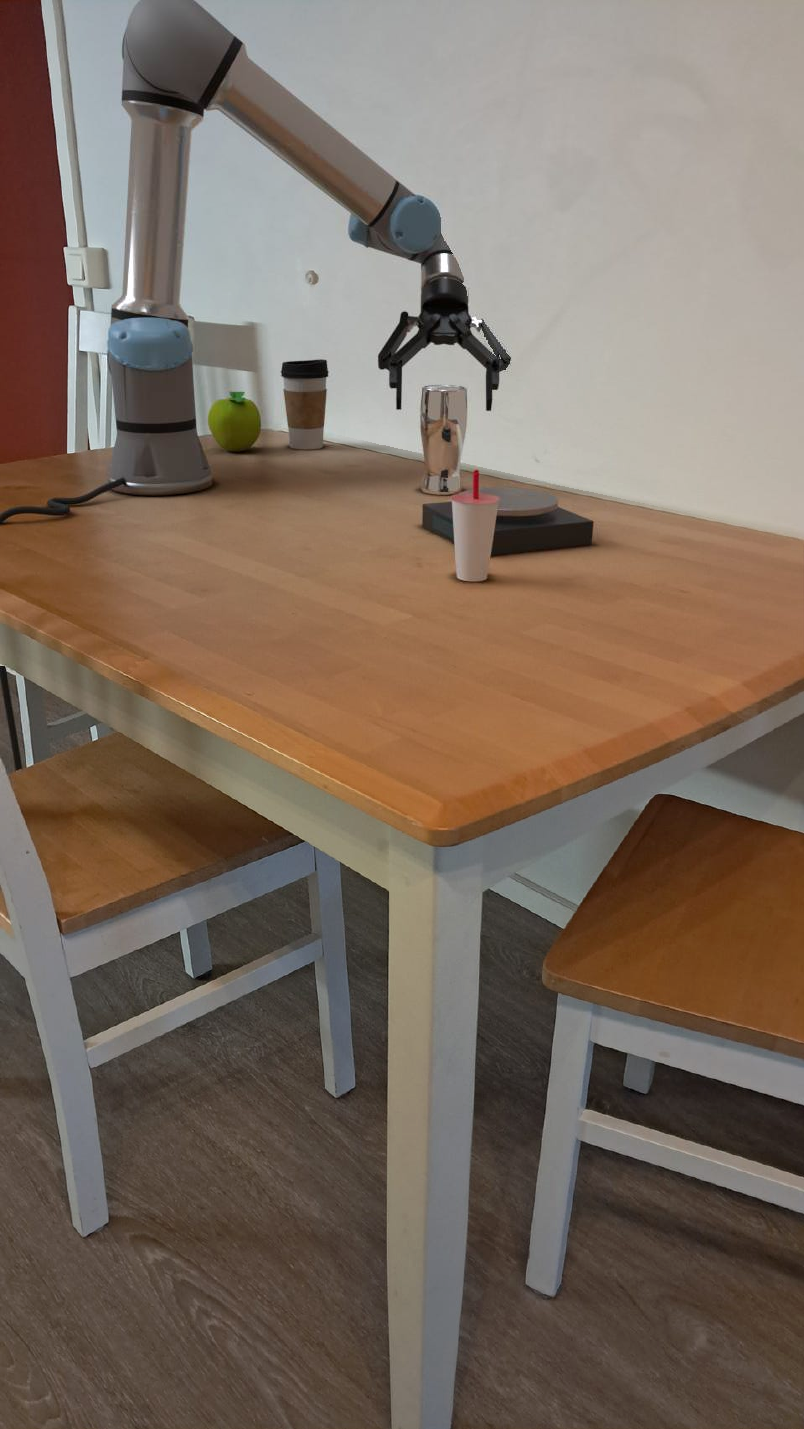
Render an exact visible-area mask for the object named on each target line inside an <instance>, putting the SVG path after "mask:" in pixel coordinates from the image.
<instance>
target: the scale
mask: <svg viewBox="0 0 804 1429" xmlns="http://www.w3.org/2000/svg"><path fill="white" fill-rule="evenodd" d="M421 516H422V517H421V518H422V519H421V527H422V528H424V529H426V530H427V531H430V532H432V533H433V534H435V535H438V536H439V537H441V538H443V539H444V540H446V541H448V542H450V543H452V544H454V528H453V511H452V501H440V502H431V503H423V504H422V514H421ZM594 523H595V521H594V520H592V519H589V518H587V517H584V516H582V515H579V514H577V513H575V512H572V511H570V510H567V509H565V508H562V507H559V506H558V508H557V509H556V510H554V511H552V512H549V513H545V514H540V515H533V516H496V522H495V529H494V536H493V543H492V549H491V556H501V555H509V554H517V553H518V554H519V553H528V552H539V551H546V550H555V549H564V548H565V549H566V548H574V547H583V546H591V545H593V535H594ZM491 556H490V557H491Z"/></svg>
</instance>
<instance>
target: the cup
mask: <svg viewBox="0 0 804 1429" xmlns="http://www.w3.org/2000/svg"><path fill="white" fill-rule="evenodd" d="M479 488H480V470H479V469H474V470H473V472H472V489H473V493H462V494H458V493H457V494H452V495H451V496H450V500H451V502H452V511H453V528H454V543H453V544H454V558H455V559H454V560H455V571H456V572H455V574H456V578H457V579H458V580H461V581H463V582H464V581H465V582H474V583H475V582H482V581H485V580H487V579H488V574H489V568H490V563H491V549H492V543H493V536H494V529H495V522H496V515H497V509H498V502H499V500H500V498H499V497H497V496H494V495H490V494H483V493H479Z"/></svg>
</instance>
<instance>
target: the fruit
mask: <svg viewBox="0 0 804 1429" xmlns="http://www.w3.org/2000/svg"><path fill="white" fill-rule="evenodd" d="M245 393H246V391H229V396H230V397H227V398H220V399H217V400H215V402H213V403H212V405H211V407H210V409H209V411H208V414H207V425H208V429H209V431H210V434H211V435H212V437H213V439H214V441H215V442H216V443H217V444H218V446H219V447H220V448H221V449H223V450H225V451H229V452H233V453H235V452H236V453H239V452H244V451H248V450H249V449H251V447H253V445H254V444H255V443H257V440H258V439H259V437H260V435H261V431H262V419H261V418H262V417H261V414H260V410H259V408H258V406H257V405H256V403H255V402H254V401H253V400H251V399H248V398H246V397H243V396H245Z"/></svg>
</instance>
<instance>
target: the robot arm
mask: <svg viewBox="0 0 804 1429" xmlns="http://www.w3.org/2000/svg"><path fill="white" fill-rule="evenodd" d="M121 57H122V80H121V82H122V84H121V87H122V88H121V107H123V109H124V110H125V112H126V114H128V116H129V118H130V120H131V122H130V123H131V125H130V139H129V140H130V142H129V143H130V144H129V159H128V160H129V161H128V162H129V163H128V179H127V180H128V183H127V198H126V199H127V200H126V201H127V202H126V219H125V235H124V236H125V238H124V257H123V273H122V274H123V276H122V293H121V296H120V298H118V299H116V301H115V302H114V303H113V304H111V308H110V326H109V328H108V331H107V332H108V333H107V341H106V345H107V346H106V347H107V352H106V364H107V368H108V372H109V374H110V376H111V384H112V396H113V397H112V398H113V406H114V417H115V418H114V419H115V427H116V429H115V430H116V437H115V442H114V446H113V449H112V450H113V451H112V455H111V460H110V465H109V469H108V475H107V476H108V478H107V479H108V483H105V484H103V485H101V486H99V487H97V488H95V489H93V490H92V491H90V492H88V493H86V494H83V495H80V496H76V497H75V496H74V497H51V498H50V499H47V501H46V505H47V506H48V507H44V506H43V507H42V506H33V505H32V506H30V505H25V506H24V505H23V506H15V507H11V508H8V509H6V510H3V512H1V513H0V525H2V524H3V523H4V521H6V520H7V519H9V518H10V517H13V516H16V515H22V514H32V515H43V516H56V517H57V516H58V517H59V516H65V515H68V514H69V513H70V512H71V508H70V505H79V504H83V503H87V502H90V500H91V501H92V500H93V499H95V498H97V497H98V496H100V495H102V494H104V493H106V492H108V491H111V490H112V491H115V492H118V493H122V494H128V495H135V496H136V495H137V496H171V495H172V496H173V495H181V494H183V495H184V494H190V493H194V492H195V493H196V492H199V491H202V490H206V489H208V488H209V487H211V486H212V485H213V473H212V469H211V466H210V464H209V461H208V458H207V455H206V453H205V450H204V448H203V446H202V443H201V440H200V437H199V434H198V428H197V413H196V399H195V398H196V397H195V384H194V382H195V381H194V366H193V353H194V344H193V341H192V338H191V332H190V329H189V315H188V314H187V313H186V312H185V310H184V309H183V307H182V306H181V288H182V277H183V276H182V274H183V263H184V262H183V261H184V246H185V233H186V232H185V231H186V220H187V218H186V217H187V203H188V188H189V178H190V177H189V175H190V163H191V162H190V161H191V148H192V135H193V134H192V133H193V131H194V129H195V128H197V127H198V126H199V125H200V124H201V123H203V121H204V116H205V111H206V112H210V111H219V112H220V113H221V114H223V115H224V116H225V117H227V118H228V119H229V120H230V121H232V122H233V123H234V124H235V125H237V126H238V127H240V128H241V129H242V130H243V131H245V132H246V133H248V134H249V135H250V136H251V137H252V138H253V139H255V140H256V141H257V142H259V143H260V144H261V145H263V146H264V147H265V148H267V149H268V150H269V151H270V152H272V153H273V154H274V155H275V156H277V157H278V158H279V159H281V160H282V161H283V162H284V163H286V164H287V165H288V166H289V167H291V168H292V169H293V170H295V171H296V172H297V173H299V174H300V175H301V176H303V177H304V178H305V179H307V181H309V182H310V183H312V185H314V186H315V187H317V188H318V189H319V190H320V191H322V192H323V193H324V194H325V195H327V196H328V197H329V198H330V199H332V200H333V201H334V202H335V203H337V204H338V205H339V206H341V207H342V208H343V209H345V210H346V211H348V212H349V213H350V215H349V220H348V226H347V232H348V237H349V239H350V240H351V241H352V242H354V243H356V244H359V245H362V246H364V247H365V248H367V249H368V248H370V249H374V250H376V251H379V252H383V253H386V254H390V255H392V256H395V257H398V258H402V259H406V260H407V261H411V262H414V263H417V264H420V313H419V315H417V316H414V315H409V312H408V311H406V310H404V311H401V313H400V316H399V322H398V323H397V325H396V327H395V328H394V330H393V332H392V333H391V335H390V336H389V338H388V339H387V341H386V342H385V343H384V345H383V347H382V348H381V349H380V351H379V352H378V354H377V366H378V369H379V370H381V371H384V370H387V371H388V372H389V373H388V386H389V388H390V389H395V390H396V391H395V392H396V393H395V394H396V395H395V405H396V406H395V408H396V409H395V410H397V411H398V410H399V411H402V400H403V398H402V397H403V396H402V394H403V367H404V366H405V365H406V364H407V363H408V362H410V361H411V360H412V359H413V358H414V357H415V356H417V354H418V353H419V352H420V351H422V349H426V348H427V347H428V346H429V345H430V344H431V343H432V344H433V345H435V346H441V345H447V346H455V344H457V345H458V346H459V347H461V348H462V349H463V350H466V351H467V352H468V353H469V354H470V355H471V356H472V357H473V358H474V359H475V360H476V361H478V362H479V364H481V366H483V367H484V368H485V411H486V412H491V411H492V406H493V391H498V389H499V388H500V372H504V371H503V370H506V368H507V367H508V365H509V364H510V365H511V363H510V361H511V362H512V356H511V355H510V354H509V355H510V356H511V357H510V356H509V355H508V354H507V353H506V350H507V349H506V350H505V349H503V347H502V346H501V344H500V342H498V340H497V339H496V337H495V336H494V335H493V333H492V332H491V331H490V329H489V327H487V325H486V324H485V322H484V320H483V319H482V318H481V320H477V319H476V317H472V316H471V315H470V313H469V308H470V307H469V306H470V305H469V306H468V303H469V295H468V296H467V290H466V287H465V286H464V285H463V284H462V283H463V282H464V277H463V275H462V272H461V269H460V267H459V264H458V262H457V260H456V258H455V257H454V255H452V254H453V253H452V252H451V250H450V248H449V246H448V245H447V243H446V241H444V238H443V236H442V234H441V217H440V213H439V211H438V209H437V207H436V206H435V204H436V203H434V201H432V200H430V199H429V198H427V197H425V196H423V195H420V194H415V193H414V192H412V191H411V190H410V189H409V188H407V187H406V186H405V185H404V184H402V183H401V182H400V181H398V180H397V179H396V178H395V177H394V176H393V175H391V173H389V172H388V171H387V170H385V169H384V168H383V167H382V166H381V165H380V164H378V163H377V162H376V161H374V160H373V159H372V158H371V157H370V156H368V154H366V153H365V152H364V151H363V150H362V149H360V148H358V146H356V145H355V144H354V143H353V142H351V141H350V140H349V139H348V138H346V137H345V136H344V135H343V134H342V133H341V132H339V131H338V130H337V129H336V128H334V127H333V126H332V124H330V123H328V122H327V121H326V120H324V118H322V117H321V116H320V115H319V114H317V113H316V112H315V111H314V110H313V109H312V108H310V107H309V106H307V105H306V104H305V103H304V102H303V101H302V100H301V99H299V98H298V97H296V95H294V94H293V93H292V92H291V91H289V90H288V89H287V88H286V87H285V86H283V85H282V84H281V83H279V81H277V80H276V79H275V78H274V77H273V76H271V75H270V74H269V73H268V72H267V71H266V70H264V69H263V68H262V67H261V66H259V65H258V64H257V63H256V62H254V61H253V60H252V59H251V58H249V56H248V51H247V48H246V44H245V42H243V41H242V40H241V39H239V38H238V37H237V36H236V35H235V34H233V33H232V32H231V31H230V30H229V29H227V27H226V26H225V25H223V24H222V23H221V22H220V21H219V20H218V19H217V18H216V17H214V16H213V15H212V14H211V13H210V12H209V11H207V9H205V8H204V7H203V6H202V5H201V4H199V2H197V1H196V0H138V1H137V3H136V4H135V5H134V6H133V8H132V10H131V12H130V14H129V16H128V20H127V23H126V27H125V30H124V33H123V36H122V44H121ZM414 327H417V328H418V330H417V332H416V334H414V335H413V336H412V338H410V339H409V340H408V341H407V342H405V344H404V345H402V344H403V342H404V341H405V339H406V337H407V335H408V333H410V332H412V330H413V328H414ZM471 328H475V330H476V332H477V333H478V332H480V330H481V329H482V331H483V333H484V337H486V340H488V344H489V345H490V347H491V348H492V349H493V352H494V354H495V355H496V356H495V355H494V354H492V352H491V351H490V349H489V348H488V347H486V346H485V344H483V342H481V341H480V340H479V338H477V337H476V336H475V335H474V334H473V332H472V330H471ZM400 346H401V347H400ZM499 355H500V357H501V359H500V357H499ZM7 671H8V670H7V666H6V667H5V666H0V685H1V691H2V697H3V703H4V709H5V714H6V715H5V716H6V720H7V727H8V732H9V738H10V744H11V751H12V756H13V764H14V771H15V772H16V770H19V769H22V770H23V764H22V758H21V752H20V745H19V739H18V732H17V727H16V722H15V714H14V710H13V703H12V697H11V692H10V684H9V678H8V672H7Z"/></svg>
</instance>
